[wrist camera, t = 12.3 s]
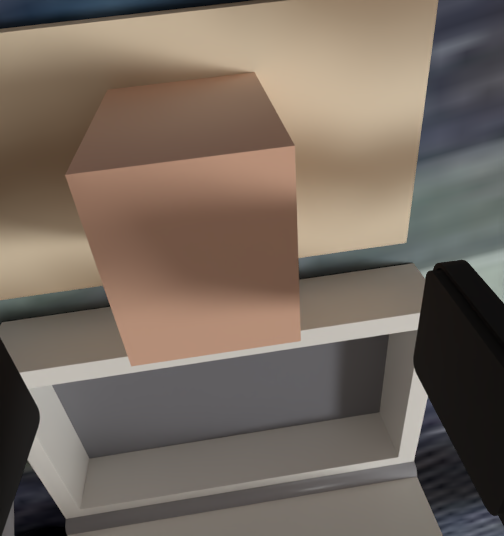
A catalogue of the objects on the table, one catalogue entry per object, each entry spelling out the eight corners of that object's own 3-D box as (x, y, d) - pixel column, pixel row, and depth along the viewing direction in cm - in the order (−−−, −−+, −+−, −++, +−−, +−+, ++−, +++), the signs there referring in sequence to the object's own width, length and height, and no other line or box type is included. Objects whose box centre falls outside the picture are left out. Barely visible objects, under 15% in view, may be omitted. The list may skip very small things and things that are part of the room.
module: (266, 223, 19) (300, 340, 14) (146, 239, 19) (131, 366, 13) (254, 72, 16) (295, 145, 10) (107, 89, 16) (65, 174, 10)
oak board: (397, 231, 22) (406, 242, 21) (6, 286, 21) (-1, 300, 20) (427, -20, 16) (440, -17, 15) (-117, 41, 15) (-134, 48, 14)
